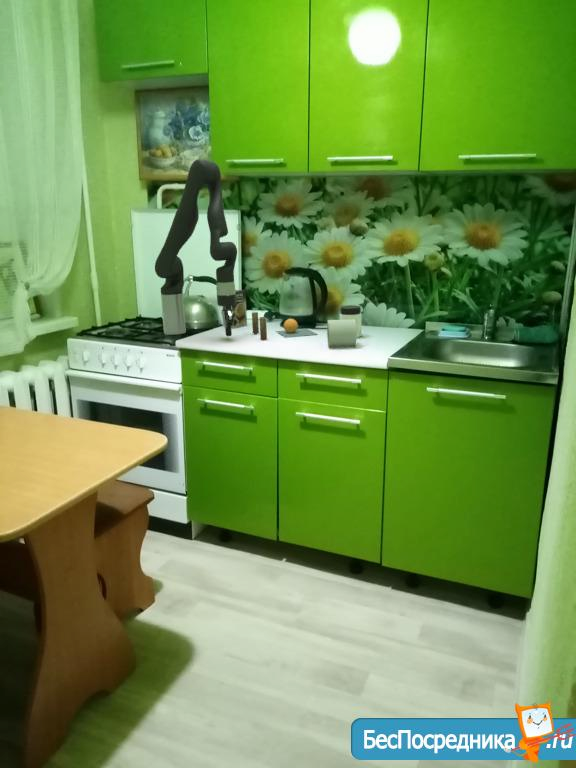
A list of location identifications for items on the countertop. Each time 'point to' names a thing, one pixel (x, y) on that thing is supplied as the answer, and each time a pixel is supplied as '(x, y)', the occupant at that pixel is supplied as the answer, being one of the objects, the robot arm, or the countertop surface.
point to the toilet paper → (341, 333)
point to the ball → (290, 325)
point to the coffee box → (239, 309)
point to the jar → (352, 316)
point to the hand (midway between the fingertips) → (228, 335)
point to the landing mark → (297, 333)
